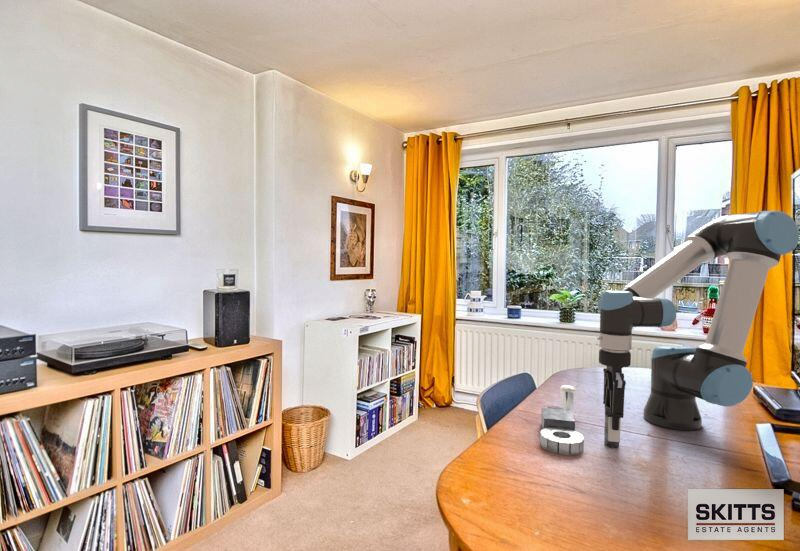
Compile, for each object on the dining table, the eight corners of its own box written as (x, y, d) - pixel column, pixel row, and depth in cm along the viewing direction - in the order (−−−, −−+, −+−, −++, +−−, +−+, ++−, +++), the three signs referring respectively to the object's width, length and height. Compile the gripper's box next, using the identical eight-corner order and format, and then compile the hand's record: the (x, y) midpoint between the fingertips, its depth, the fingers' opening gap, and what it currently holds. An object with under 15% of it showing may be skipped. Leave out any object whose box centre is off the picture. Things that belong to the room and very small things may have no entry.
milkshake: (578, 417, 137) (579, 385, 137) (560, 415, 138) (561, 384, 138) (575, 412, 142) (576, 381, 141) (558, 411, 143) (559, 380, 142)
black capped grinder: (617, 443, 118) (618, 406, 118) (621, 449, 114) (622, 411, 114) (602, 441, 119) (603, 405, 118) (605, 447, 115) (606, 409, 115)
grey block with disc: (573, 424, 131) (573, 408, 131) (586, 457, 109) (586, 437, 109) (536, 421, 133) (536, 405, 133) (542, 452, 112) (542, 432, 112)
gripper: (593, 343, 125) (590, 424, 126) (606, 355, 108) (603, 449, 109) (622, 344, 123) (619, 427, 124) (640, 357, 107) (636, 452, 107)
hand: (611, 437), depth 117 cm, fingers closed on black capped grinder, 4 cm apart
